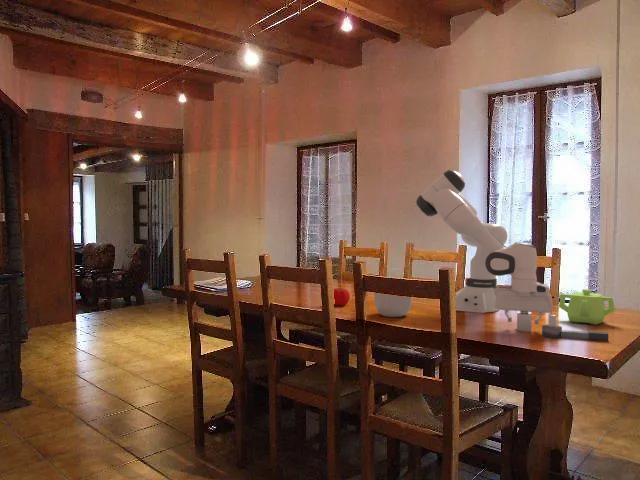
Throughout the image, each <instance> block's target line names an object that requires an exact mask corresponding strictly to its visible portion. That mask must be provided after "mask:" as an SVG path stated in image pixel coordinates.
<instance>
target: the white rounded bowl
mask: <svg viewBox="0 0 640 480" xmlns="http://www.w3.org/2000/svg"><path fill="white" fill-rule="evenodd" d="M373 295H374V297H373V298H374V306H375V309H376V311H377V312H378V313H379V314H380V315H381V316H383V317H387V318H399V317H404V316H406V315H407V314H409V312H410V311H411V308H412V305H413V296H412V297H404V296H396V295H387V294H379V293H374V292H373Z"/></svg>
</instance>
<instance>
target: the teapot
mask: <svg viewBox="0 0 640 480" xmlns="http://www.w3.org/2000/svg"><path fill="white" fill-rule="evenodd" d="M581 290H582V292H581V291H575V292H573V293H572V294H571V293H569V294H568V293H561V294H560V298H559V303H558V308H560V309H561V310H563V311H565V312H566V314H567V317H568V319H569V321H570V322H573V323H575V324H580V323H585V324H590V325H593V326H594V325H596V326H597V325H598V324H601V323H602V322H604V319H605V318H606V316H608V315H609V314H612V313H614V312H615V311H616V308H615V301H614V297H613V296H612V297H609V296H602V294H601V293H597V292H596V293H593V292H592V290H591V289H586V288H585V289H584V288H583V289H581ZM566 298H567V299H569V301H568V305H567V304H566ZM604 301H605V302H607V301H608V308H605V304H604Z"/></svg>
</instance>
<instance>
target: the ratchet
mask: <svg viewBox="0 0 640 480" xmlns="http://www.w3.org/2000/svg"><path fill="white" fill-rule="evenodd" d="M556 317H557V316H556V314H548V324H542V325H541V336H542V337H543V338H545V339H546V338H547V339H571V340H572V339H573V340H585V341H587V340H588V341H597V342H599V341H600V342H609V333H608V332H607V331H595V330H594V331H593V330H587V331H581V330H579V331H578V330H567V329H563V328H562V327H563V326H561V325H557V324H556V323H557V322H556V321H557V320H556Z"/></svg>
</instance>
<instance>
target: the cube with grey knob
mask: <svg viewBox="0 0 640 480" xmlns="http://www.w3.org/2000/svg"><path fill="white" fill-rule="evenodd" d="M532 313H533V312H528V311H516V331H517V332H519V331H520V332H531V333H532V320H533V314H532Z"/></svg>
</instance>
